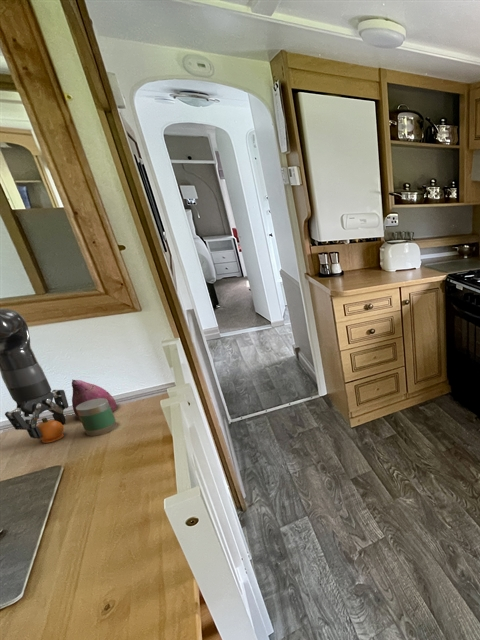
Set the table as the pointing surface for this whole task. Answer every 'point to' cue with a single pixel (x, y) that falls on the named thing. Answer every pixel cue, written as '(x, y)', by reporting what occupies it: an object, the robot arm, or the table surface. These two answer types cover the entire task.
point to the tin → (96, 416)
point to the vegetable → (89, 394)
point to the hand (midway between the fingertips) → (50, 430)
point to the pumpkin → (50, 430)
